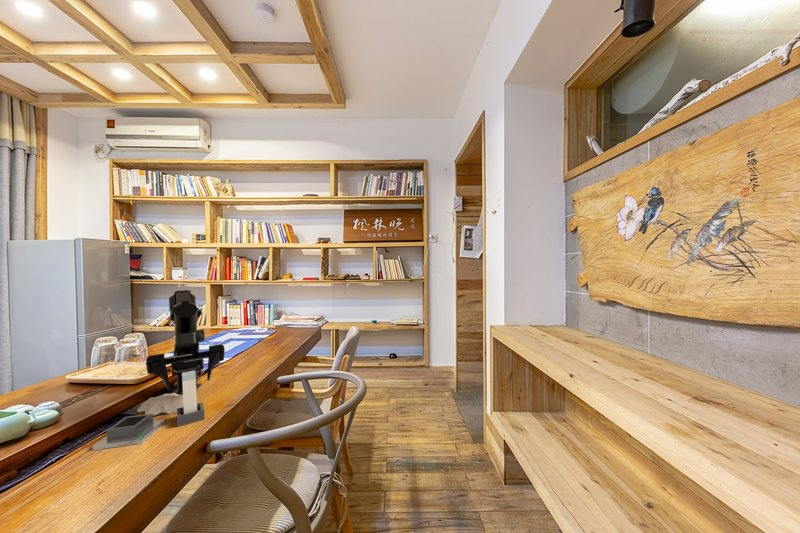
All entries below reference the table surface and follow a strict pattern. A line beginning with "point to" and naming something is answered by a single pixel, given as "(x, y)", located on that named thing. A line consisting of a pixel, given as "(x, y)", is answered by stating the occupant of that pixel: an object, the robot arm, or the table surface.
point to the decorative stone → (162, 404)
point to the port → (129, 431)
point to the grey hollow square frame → (190, 415)
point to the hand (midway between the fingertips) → (189, 384)
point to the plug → (189, 392)
